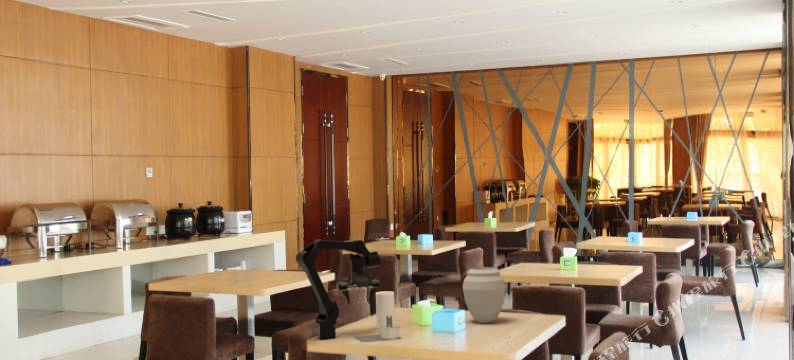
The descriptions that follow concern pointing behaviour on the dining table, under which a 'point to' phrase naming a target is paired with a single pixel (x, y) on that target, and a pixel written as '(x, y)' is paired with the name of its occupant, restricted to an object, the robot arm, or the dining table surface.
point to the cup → (385, 307)
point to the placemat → (371, 338)
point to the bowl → (389, 333)
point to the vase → (484, 293)
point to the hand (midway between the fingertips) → (359, 304)
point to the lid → (389, 324)
